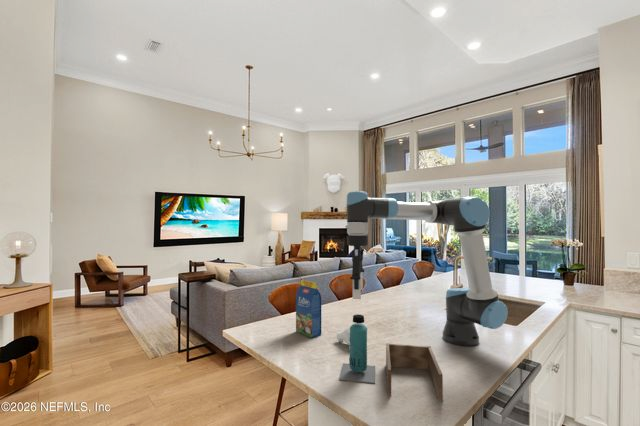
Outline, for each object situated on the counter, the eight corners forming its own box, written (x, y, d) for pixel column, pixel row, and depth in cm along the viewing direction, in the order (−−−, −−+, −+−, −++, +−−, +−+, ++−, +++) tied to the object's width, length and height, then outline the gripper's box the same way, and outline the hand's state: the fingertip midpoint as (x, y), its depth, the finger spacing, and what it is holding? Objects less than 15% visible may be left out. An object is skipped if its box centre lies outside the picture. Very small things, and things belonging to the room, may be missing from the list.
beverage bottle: (365, 367, 112) (365, 312, 113) (369, 376, 106) (369, 318, 106) (347, 367, 112) (348, 312, 112) (350, 376, 105) (350, 318, 106)
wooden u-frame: (430, 368, 112) (430, 346, 112) (442, 401, 92) (442, 374, 92) (386, 364, 115) (386, 343, 115) (388, 396, 95) (387, 369, 95)
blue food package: (311, 338, 141) (311, 284, 142) (295, 331, 150) (295, 280, 151) (321, 335, 146) (321, 282, 146) (305, 328, 154) (305, 278, 155)
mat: (375, 367, 113) (375, 365, 113) (375, 383, 102) (375, 382, 102) (343, 364, 116) (343, 363, 116) (339, 380, 104) (339, 379, 104)
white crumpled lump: (353, 329, 128) (332, 325, 136) (355, 350, 128) (333, 345, 136) (362, 325, 133) (341, 322, 141) (364, 345, 132) (342, 341, 140)
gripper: (350, 233, 123) (350, 286, 122) (343, 236, 99) (343, 302, 98) (369, 233, 122) (369, 287, 121) (366, 236, 97) (367, 303, 97)
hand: (358, 294), depth 110 cm, fingers open, 13 cm apart
